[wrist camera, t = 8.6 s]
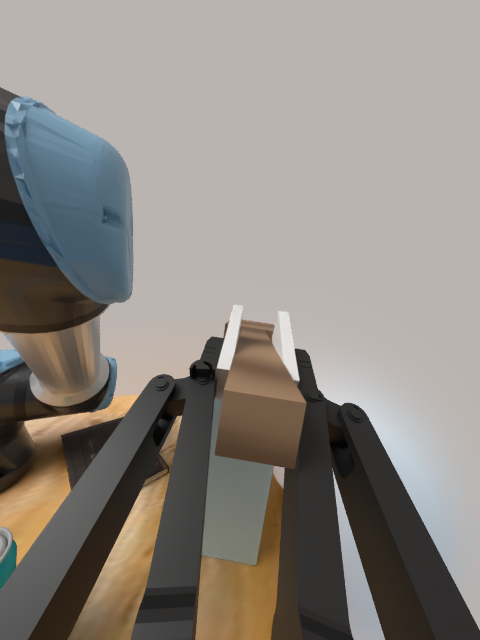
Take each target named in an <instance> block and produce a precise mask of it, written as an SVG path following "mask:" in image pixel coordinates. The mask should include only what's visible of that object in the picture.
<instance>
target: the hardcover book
mask: <svg viewBox="0 0 480 640" xmlns="http://www.w3.org/2000/svg"><path fill="white" fill-rule="evenodd" d="M123 418H124V417H122V418H118V419H115V420H111V421H108V422H105V423H101V424H98V425H95V426H91V427H88V428H84V429H81V430H78V431H74V432H71V433H67V434H64V435H61V437H62V443H63V448H64V454H65V459H66V465H67V471H68V476H69V482H70V487H71V490H72V489H73V488H74V486H75V485H76V484H77V482H78V481H79V479H80V478H81V477H82V475H83V474H84V472H85V471H86V470H87V468H88V467H89V465H90V464H91V463H92V461H93V460H94V458H95V457H96V456H97V454H98V453H99V451H100V450H101V449H102V447H103V446H104V444H105V443H106V442H107V440H108V439H109V437H110V436H111V435H112V433H113V432H114V430H115V429H116V428H117V426H118V425H119V423H120V422H121V421H122V419H123ZM168 472H169V467H168V465H167V464H166V463H165V461H164V460H163V458H162V457H161V455H160V454H158V456H157V458H156V460H155V462H154V464H153V466H152V468H151V470H150V472H149V474H148V476H147V478H146V481H145V483H144V485H146V484H148V483H150V482H151V481H153V480H155V479H157V478H158V477H160V476H162V475H164V474H166V473H168ZM144 485H143V486H144Z"/></svg>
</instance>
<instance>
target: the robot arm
mask: <svg viewBox="0 0 480 640" xmlns="http://www.w3.org/2000/svg"><path fill="white" fill-rule="evenodd" d="M132 237H133V216H132V197H131V184H130V177H129V172H128V169H127V166H126V164H125V162H124V160H123V158H122V157H121V155H120V154H119V153H118V151H117V150H116V149H115V148H114V147H113V146H112V145H111V144H110V143H108V142H107V141H106V140H104V139H103V138H100V137H99V136H97V135H95V134H93V133H91V132H89V131H87V130H85V129H83V128H81V127H79V126H77V125H75V124H73V123H71V122H69V121H67V120H65V119H64V118H62V117H60V116H58V115H57V114H55V113H54V112H53V111H52V110H51V109H49V108H48V107H47V106H45V105H44V104H43V103H41V102H38V101H36V100H34V99H32V98H30V97H27V96H23V97H20V96H18V95H15V94H13V93H11V92H9V91H7V90H5V89H3V88H1V87H0V332H1V333H3V334H4V335H5V336H6V338H7V339H8V340H9V342H10V343H11V344H12V345H13V347H14V348H15V350H0V492H1V491H3V490H4V489H6V488H7V487H9V486H10V485H12V484H13V483H14V482H16V481H17V480H18V479H19V478H21V477H22V476H23V475H24V474H25V473H26V472H27V471H28V470H29V468H30V467H31V466H32V464H33V462H34V459H35V444H34V442H33V440H32V438H31V437H30V435H29V433H28V431H27V429H26V427H25V425H24V421H28V420H34V419H42V418H49V417H56V416H63V415H71V414H78V413H85V412H95V411H97V410H102V409H105V408H107V407H108V406H109V405H110V404H111V402H112V399H113V395H114V391H115V386H116V378H117V363H116V360H115V359H114V358H112V357H105V356H103V355H102V354H101V353H100V315H101V314H102V313H104V311H105V310H106V309H107V308H108V307H109V306H110V304H112V303H115V302H119V303H121V302H125V301H126V300H128V299H129V298H130V296H131V294H132V283H133V238H132ZM242 311H243V306H241V305H234V306H233V309H232V314H231V317H230V320H229V324H228V328H227V332H226V335H225V338H218V337H211V338H210V339H209V340H208V341H207V343H206V345H205V348H204V351H203V353H202V356H201V359H200V360H197V361H195V362H194V363H193V364H191V366H190V376H189V377H186V378H182V379H173V377H172V376H170V375H165V374H162V375H158V376H156V377H154V378H153V379H152V380H151V381H150V382H149V383H148V384H147V386H146V387H145V389H144V390H143V391H142V393H141V394H140V396H139V397H138V398H137V400H136V401H135V403H134V404H133V405H132V407H131V408H130V410H129V411H128V412H127V414H126V415H125V417H124V418H123V419H122V421H121V422H120V423H119V425H118V426H117V428H116V429H115V430H114V432H113V433H112V435H111V436H110V437H109V439H108V440H107V442H106V443H105V444H104V446H103V447H102V449H101V450H100V451H99V453H98V454H97V456H96V457H95V458H94V460H93V461H92V463H91V464H90V465H89V467H88V468H87V470H86V471H85V472H84V474H83V475H82V477H81V478H80V479H79V481H78V482H77V484H76V485H75V486H74V488H73V489H72V490H71V492H70V493H69V495H68V496H67V497H66V499H65V500H64V502H63V503H62V504H61V506H60V507H59V509H58V510H57V511H56V513H55V514H54V516H53V517H52V518H51V520H50V521H49V523H48V524H47V525H46V527H45V528H44V530H43V531H42V532H41V534H40V535H39V537H38V538H37V539H36V541H35V542H34V544H33V545H32V546H31V548H30V549H29V551H28V552H27V553H26V555H25V556H24V557H23V559H22V560H21V562H20V563H19V564H18V566H17V567H16V569H15V570H14V571H13V573H12V574H11V576H10V577H9V578H8V580H7V581H6V583H5V584H4V585H3V587H2V588H1V590H0V640H67V639H68V637H69V635H70V633H71V631H72V629H73V627H74V625H75V623H76V621H77V619H78V617H79V615H80V613H81V611H82V609H83V607H84V605H85V603H86V601H87V599H88V597H89V595H90V593H91V591H92V589H93V587H94V585H95V582H96V580H97V578H98V576H99V574H100V572H101V570H102V568H103V566H104V564H105V562H106V560H107V558H108V556H109V554H110V552H111V550H112V548H113V546H114V544H115V542H116V540H117V538H118V536H119V534H120V532H121V529H122V527H123V525H124V523H125V521H126V519H127V517H128V515H129V513H130V511H131V509H132V507H133V505H134V503H135V501H136V499H137V497H138V495H139V493H140V491H141V489H142V487H143V485H144V483H145V481H146V478H147V476H148V474H149V472H150V470H151V468H152V466H153V464H154V462H155V460H156V458H157V456H158V454H159V452H160V450H161V448H162V446H163V444H164V442H165V440H166V438H167V436H168V434H169V432H170V430H171V427H172V425H173V423H174V421H175V419H176V417H177V416H181V415H182V420H181V425H180V430H179V434H178V439H177V444H176V449H175V453H174V458H173V463H172V468H171V473H170V477H169V482H168V487H167V492H166V496H165V501H164V506H163V511H162V515H161V520H160V525H159V530H158V534H157V539H156V544H155V549H154V554H153V558H152V563H151V568H150V573H149V577H148V582H147V586H146V590H145V594H144V597H143V600H142V602H141V605H140V608H139V611H138V614H137V618H136V621H135V625H134V629H133V633H132V637H131V640H195V635H196V622H197V609H198V594H199V581H200V569H201V557H202V544H203V532H204V520H205V507H206V495H207V483H208V471H209V458H210V446H211V434H212V422H213V409H214V400H215V399H221V400H222V399H223V392H224V387H225V384H226V380H227V377H228V373H229V370H230V367H231V363H232V360H233V356H234V353H235V350H236V346H237V343H238V339H239V335H240V328H241V320H242ZM272 344H273V346H274V347H275V349H276V351H277V353H278V355H279V356H280V358H281V360H282V362H283V363H284V365H285V366H286V368H287V370H288V372H289V373H290V375H291V377H292V379H293V380H294V382H295V384H296V386H297V387H298V389H299V391H300V393H301V394H302V396H303V398H304V400H305V401H306V403H307V404H306V409H305V414H304V420H303V425H302V431H301V436H300V441H299V447H298V452H297V458H296V463H295V468H294V469H291V468H285V473H284V490H283V507H282V523H281V540H280V557H279V574H278V591H277V604H276V610H275V614H274V618H273V625H272V635H271V640H354V639H353V637H352V634H351V629H350V624H349V618H348V608H347V598H346V589H345V580H344V571H343V562H342V552H341V543H340V534H339V525H338V516H337V507H336V498H335V488H334V479H333V471H334V475H335V478H336V481H337V484H338V488H339V491H340V494H341V497H342V501H343V504H344V507H345V510H346V514H347V516H348V520H349V523H350V527H351V530H352V533H353V536H354V540H355V543H356V546H357V549H358V553H359V555H360V559H361V562H362V566H363V569H364V572H365V575H366V578H367V582H368V585H369V588H370V591H371V594H372V598H373V601H374V604H375V608H376V611H377V614H378V617H379V621H380V624H381V627H382V630H383V633H384V637H385V640H480V630H479V628H478V626H477V624H476V623H475V621H474V619H473V617H472V615H471V613H470V611H469V609H468V607H467V605H466V603H465V601H464V600H463V598H462V596H461V594H460V592H459V590H458V588H457V586H456V584H455V582H454V580H453V579H452V577H451V575H450V573H449V571H448V569H447V567H446V565H445V563H444V561H443V559H442V557H441V556H440V554H439V552H438V550H437V548H436V546H435V544H434V542H433V540H432V538H431V536H430V535H429V533H428V531H427V529H426V527H425V525H424V523H423V521H422V519H421V517H420V516H419V514H418V512H417V510H416V508H415V506H414V504H413V502H412V500H411V498H410V496H409V494H408V493H407V491H406V489H405V487H404V485H403V483H402V481H401V479H400V477H399V475H398V473H397V472H396V470H395V468H394V466H393V464H392V462H391V460H390V458H389V456H388V454H387V453H386V450H385V449H384V447H383V445H382V443H381V441H380V439H379V437H378V435H377V434H376V431H375V430H374V428H373V426H372V424H371V422H370V420H369V418H368V416H367V415H366V413H365V412H364V411H363V410H362V409H361V408H360V407H359V406H357V405H355V404H352V403H344V404H343V405H342V406H340V405H338V404H335V403H333V402H331V401H329V400H327V399H326V398H325V397H324V396H323V394H322V393H321V391H319V390H318V388H317V385H316V380H315V376H314V373H313V369H312V364H311V360H310V356H309V355H308V353H307V352H306V351H305V350H301V349H294V344H293V338H292V332H291V326H290V319H289V314H288V312H283V311H279V312H278V316H277V319H276V323H275V327H274V331H273V335H272ZM332 468H333V470H332Z"/></svg>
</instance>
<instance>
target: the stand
mask: <svg viewBox="0 0 480 640" xmlns="http://www.w3.org/2000/svg"><path fill="white" fill-rule="evenodd" d="M221 406H222V400H221V399H215V400H214V409H213V422H212V434H211V446H210V458H209V471H208V483H207V495H206V507H205V520H204V532H203V544H202V556H207V557H212V558H218V559H223V560H228V561H233V562H238V563H244V564H249V565H254V566H256V564H257V558H258V552H259V546H260V541H261V535H262V529H263V524H264V518H265V512H266V506H267V501H268V495H269V489H270V483H271V478H272V472H273V465H268V464H262V463H256V462H250V461H244V460H239V459H233V458H227V457H221V456H215V448H216V441H217V434H218V427H219V420H220V413H221Z"/></svg>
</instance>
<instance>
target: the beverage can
mask: <svg viewBox="0 0 480 640" xmlns="http://www.w3.org/2000/svg"><path fill="white" fill-rule="evenodd" d="M16 556H17V545H16V542H15V541H14V540H13V536H12V533H11V531H10V530H9V529H7V528H5V527H0V590H1V588H2V587H3V585H4V584H5V583H6V581H7V580H8V578H9V577H10V576H11V574H12V573H13V571H14V570H15V569H16Z"/></svg>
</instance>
